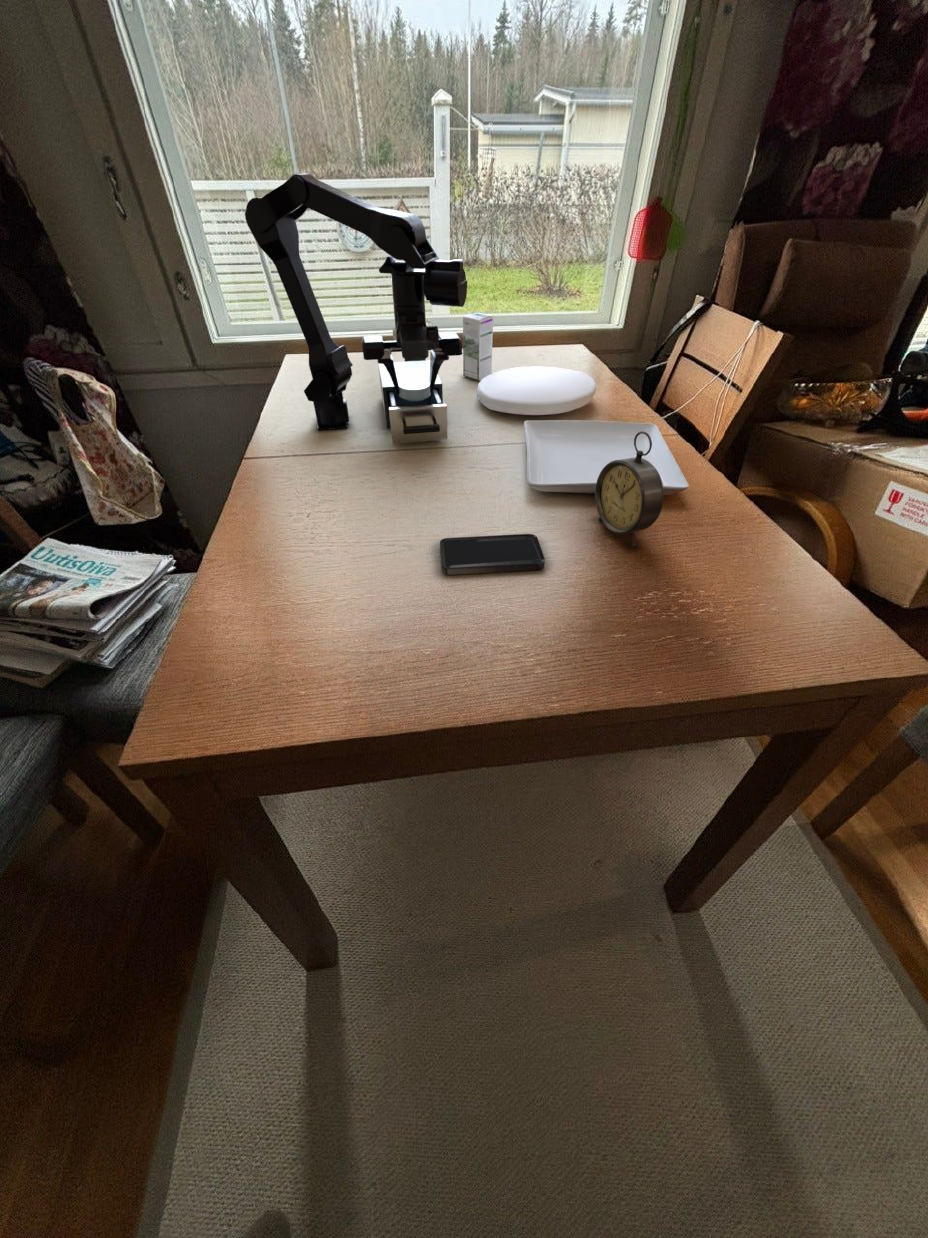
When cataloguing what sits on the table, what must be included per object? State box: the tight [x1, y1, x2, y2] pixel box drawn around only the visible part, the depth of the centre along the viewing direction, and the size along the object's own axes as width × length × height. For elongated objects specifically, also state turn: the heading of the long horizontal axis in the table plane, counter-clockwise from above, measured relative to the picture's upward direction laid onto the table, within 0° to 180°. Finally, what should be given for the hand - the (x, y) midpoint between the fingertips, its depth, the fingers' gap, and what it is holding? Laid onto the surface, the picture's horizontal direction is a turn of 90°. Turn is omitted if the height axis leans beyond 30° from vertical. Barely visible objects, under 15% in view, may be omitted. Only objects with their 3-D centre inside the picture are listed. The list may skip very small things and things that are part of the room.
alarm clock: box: [594, 431, 665, 549], centre depth 75 cm, size 11×5×16 cm, turn 24°
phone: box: [439, 533, 546, 576], centre depth 75 cm, size 8×1×15 cm
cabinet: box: [377, 359, 444, 429], centre depth 114 cm, size 17×13×9 cm
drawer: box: [388, 388, 449, 444], centre depth 105 cm, size 20×11×7 cm, turn 10°
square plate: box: [523, 419, 690, 496], centre depth 95 cm, size 27×27×4 cm
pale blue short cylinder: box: [398, 379, 431, 402], centre depth 102 cm, size 6×6×3 cm
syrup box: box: [462, 312, 494, 382], centre depth 130 cm, size 6×6×14 cm
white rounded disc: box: [476, 365, 597, 416], centre depth 120 cm, size 28×6×27 cm
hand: (414, 392), depth 102 cm, fingers closed on pale blue short cylinder, 6 cm apart
